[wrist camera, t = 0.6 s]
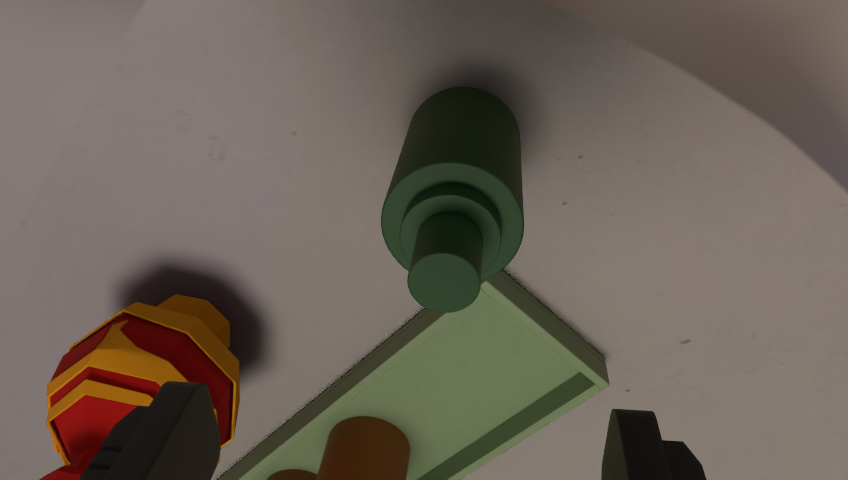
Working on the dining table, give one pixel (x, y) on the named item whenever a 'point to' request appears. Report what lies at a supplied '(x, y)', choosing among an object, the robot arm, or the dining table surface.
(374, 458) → the amber bottle mid
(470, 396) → the tray
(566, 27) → the dining table surface
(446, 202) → the green bottle
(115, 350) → the potion bottle
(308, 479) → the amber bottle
